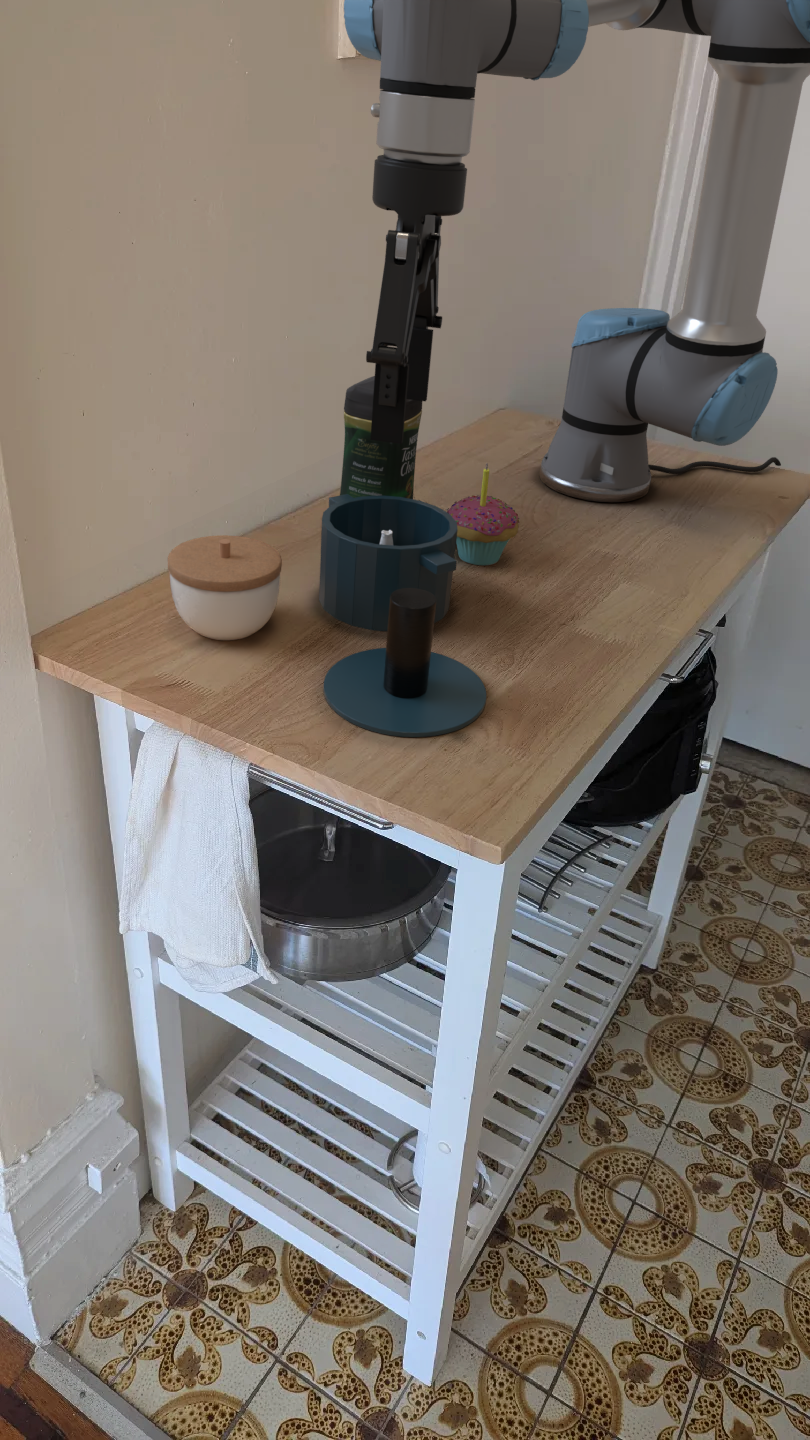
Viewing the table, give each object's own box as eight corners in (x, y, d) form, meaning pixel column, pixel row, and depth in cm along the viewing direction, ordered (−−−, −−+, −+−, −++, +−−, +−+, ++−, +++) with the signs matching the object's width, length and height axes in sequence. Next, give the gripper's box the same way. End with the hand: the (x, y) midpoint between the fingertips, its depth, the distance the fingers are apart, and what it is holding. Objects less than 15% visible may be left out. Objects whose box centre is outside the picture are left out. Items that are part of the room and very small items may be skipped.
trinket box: (237, 667, 99) (236, 576, 94) (147, 634, 103) (142, 544, 98) (301, 624, 107) (304, 537, 102) (216, 595, 111) (214, 510, 106)
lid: (420, 643, 106) (429, 549, 100) (518, 714, 96) (534, 614, 90) (292, 681, 98) (294, 581, 92) (385, 761, 88) (393, 655, 83)
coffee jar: (388, 555, 123) (400, 394, 113) (327, 539, 125) (333, 380, 115) (420, 527, 130) (434, 374, 120) (362, 513, 133) (371, 362, 123)
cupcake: (509, 577, 120) (523, 475, 114) (435, 566, 121) (445, 464, 115) (517, 548, 127) (531, 450, 121) (448, 537, 128) (458, 440, 122)
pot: (384, 559, 122) (390, 479, 117) (490, 628, 109) (502, 543, 104) (282, 582, 115) (283, 499, 109) (383, 660, 102) (389, 570, 97)
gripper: (402, 141, 96) (385, 379, 107) (342, 163, 75) (328, 455, 87) (484, 150, 95) (458, 388, 107) (446, 175, 74) (419, 467, 86)
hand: (400, 419), depth 97 cm, fingers open, 13 cm apart
